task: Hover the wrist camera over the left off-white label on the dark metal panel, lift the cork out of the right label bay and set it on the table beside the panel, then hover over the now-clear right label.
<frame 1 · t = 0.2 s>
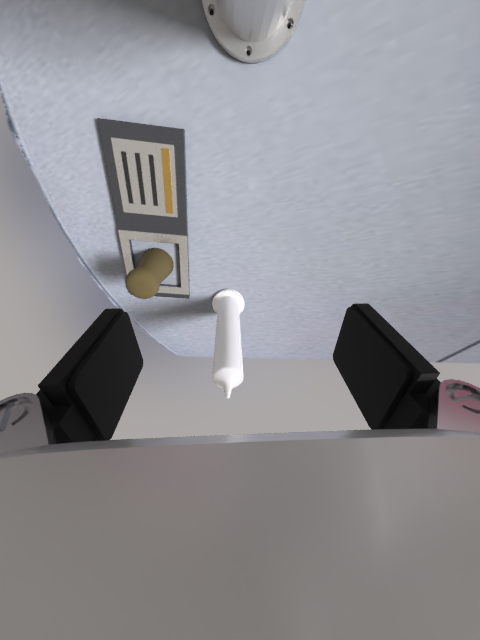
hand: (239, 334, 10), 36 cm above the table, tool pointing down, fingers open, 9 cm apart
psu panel: (153, 225, 41), on the table
cork: (158, 262, 45), resting in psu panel
candle: (228, 302, 51), on the table
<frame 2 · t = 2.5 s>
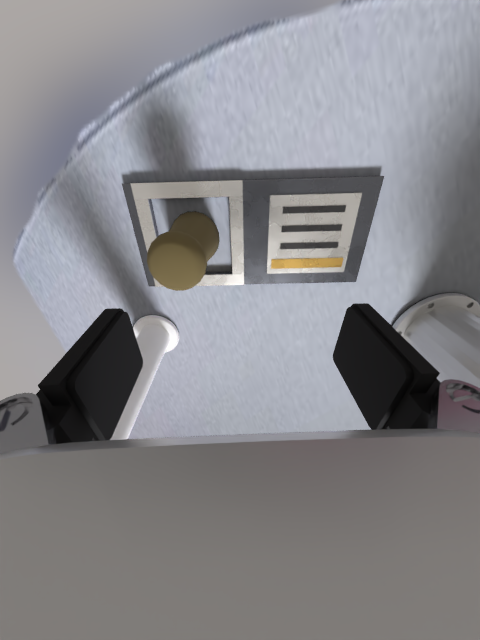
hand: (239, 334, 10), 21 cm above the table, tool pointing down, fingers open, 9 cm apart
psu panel: (251, 236, 28), on the table
cork: (195, 237, 28), resting in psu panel
candle: (157, 332, 36), on the table
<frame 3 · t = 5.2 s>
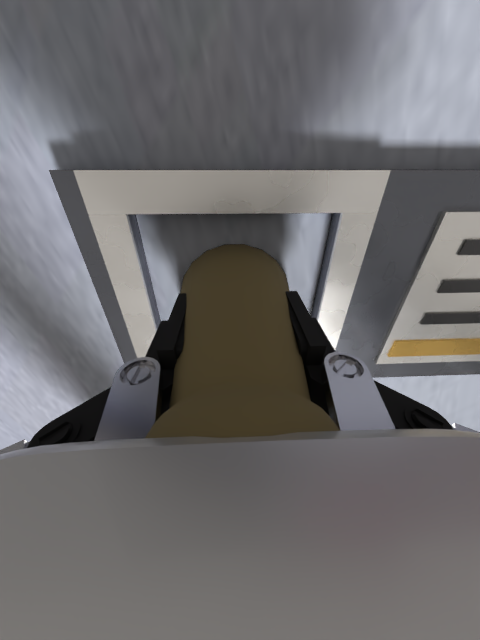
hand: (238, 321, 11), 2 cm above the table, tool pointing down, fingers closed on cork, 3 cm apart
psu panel: (358, 295, 13), on the table
cork: (235, 296, 13), resting in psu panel, touching gripper
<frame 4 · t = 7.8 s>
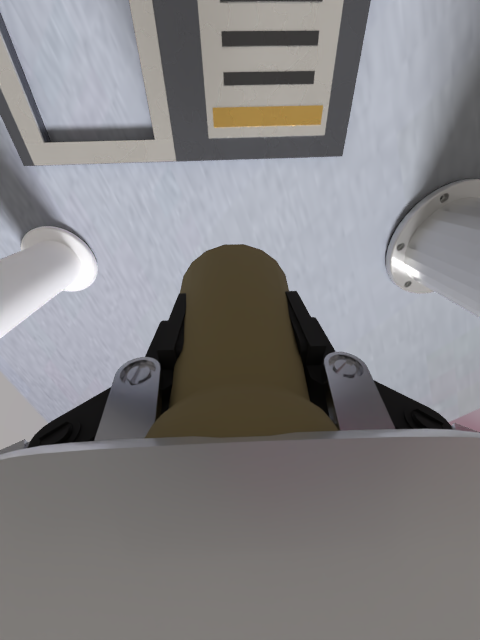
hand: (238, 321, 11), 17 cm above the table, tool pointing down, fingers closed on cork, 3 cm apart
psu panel: (177, 65, 17), on the table
cork: (234, 296, 13), point 14 cm above the table, touching gripper
candle: (64, 259, 25), on the table
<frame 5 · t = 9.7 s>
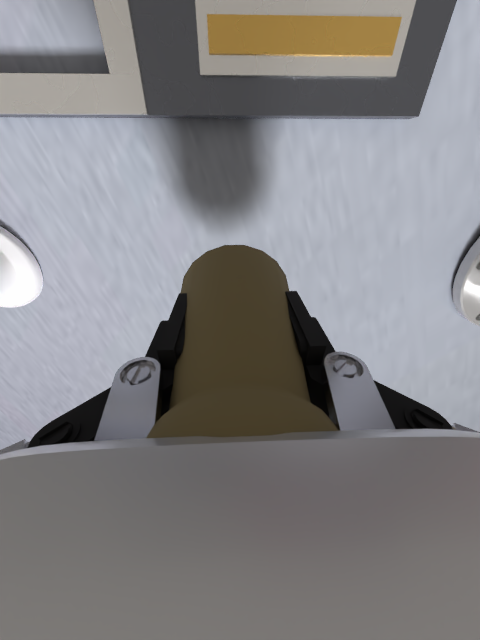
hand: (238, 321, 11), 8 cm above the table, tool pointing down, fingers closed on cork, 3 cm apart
cork: (235, 297, 13), point 6 cm above the table, touching gripper
when the fingers open (4 cm above the table, at t = 10.9 s): cork drops 1 cm, on the table.
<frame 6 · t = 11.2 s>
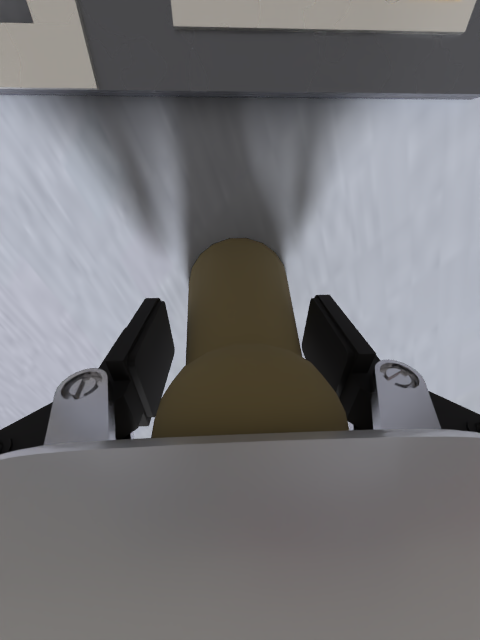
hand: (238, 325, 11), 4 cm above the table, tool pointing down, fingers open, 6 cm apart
cork: (238, 286, 14), on the table
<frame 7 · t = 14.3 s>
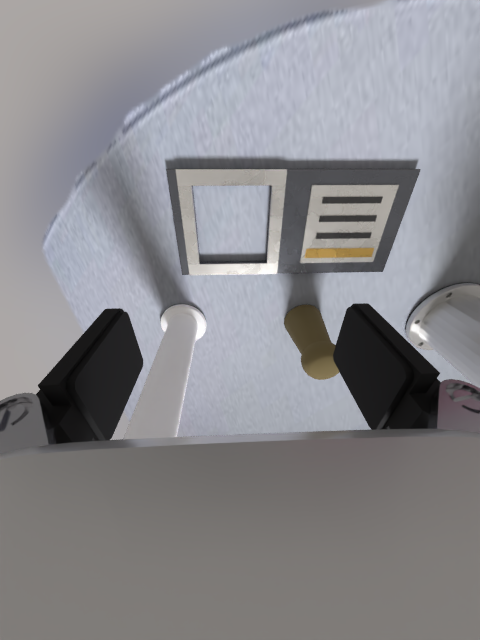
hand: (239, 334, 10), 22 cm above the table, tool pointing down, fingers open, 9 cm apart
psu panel: (287, 226, 29), on the table
cork: (302, 319, 37), on the table
candle: (184, 322, 36), on the table
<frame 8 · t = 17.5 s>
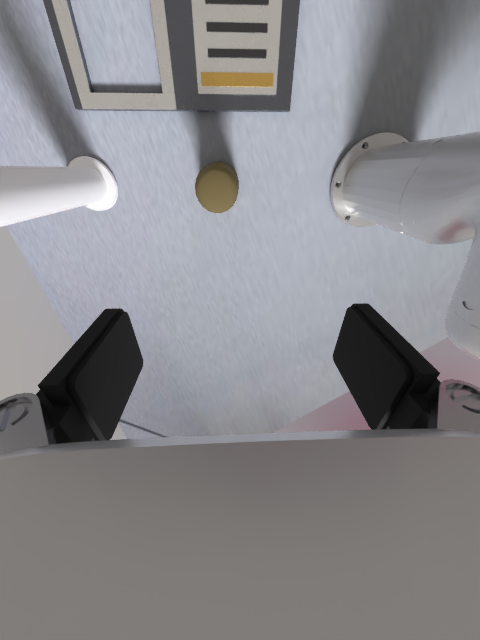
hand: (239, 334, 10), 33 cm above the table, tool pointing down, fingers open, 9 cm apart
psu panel: (178, 43, 27), on the table
cork: (219, 184, 36), on the table
candle: (94, 184, 35), on the table
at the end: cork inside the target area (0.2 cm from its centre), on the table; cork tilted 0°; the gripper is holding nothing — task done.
